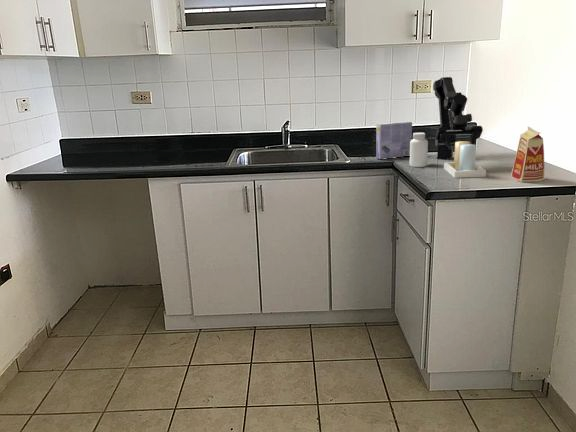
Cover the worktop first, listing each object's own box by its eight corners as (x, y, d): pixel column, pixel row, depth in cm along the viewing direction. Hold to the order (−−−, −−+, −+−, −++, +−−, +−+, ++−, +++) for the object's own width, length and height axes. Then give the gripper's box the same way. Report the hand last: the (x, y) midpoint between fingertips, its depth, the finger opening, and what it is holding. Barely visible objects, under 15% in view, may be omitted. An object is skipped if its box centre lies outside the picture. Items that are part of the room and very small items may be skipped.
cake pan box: (408, 155, 257) (409, 120, 252) (414, 156, 252) (414, 121, 248) (375, 158, 252) (375, 123, 247) (380, 160, 247) (380, 124, 242)
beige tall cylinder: (450, 170, 212) (452, 142, 208) (459, 168, 215) (460, 140, 212) (463, 172, 207) (464, 143, 204) (471, 169, 210) (473, 141, 207)
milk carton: (510, 178, 194) (513, 126, 189) (532, 176, 195) (537, 125, 189) (522, 182, 186) (526, 129, 180) (546, 181, 186) (551, 127, 181)
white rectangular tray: (443, 169, 217) (444, 162, 216) (472, 168, 216) (472, 161, 215) (454, 178, 198) (454, 171, 197) (485, 177, 197) (486, 170, 196)
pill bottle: (417, 168, 223) (418, 134, 219) (405, 165, 230) (406, 133, 226) (431, 165, 226) (431, 133, 222) (419, 163, 233) (419, 131, 229)
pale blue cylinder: (457, 175, 202) (458, 146, 198) (461, 172, 206) (462, 143, 203) (472, 176, 199) (474, 146, 195) (476, 173, 203) (477, 144, 200)
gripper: (437, 108, 211) (442, 138, 203) (482, 106, 209) (489, 136, 202) (433, 125, 221) (437, 153, 213) (476, 123, 219) (482, 152, 211)
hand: (461, 148), depth 210 cm, fingers open, 9 cm apart
